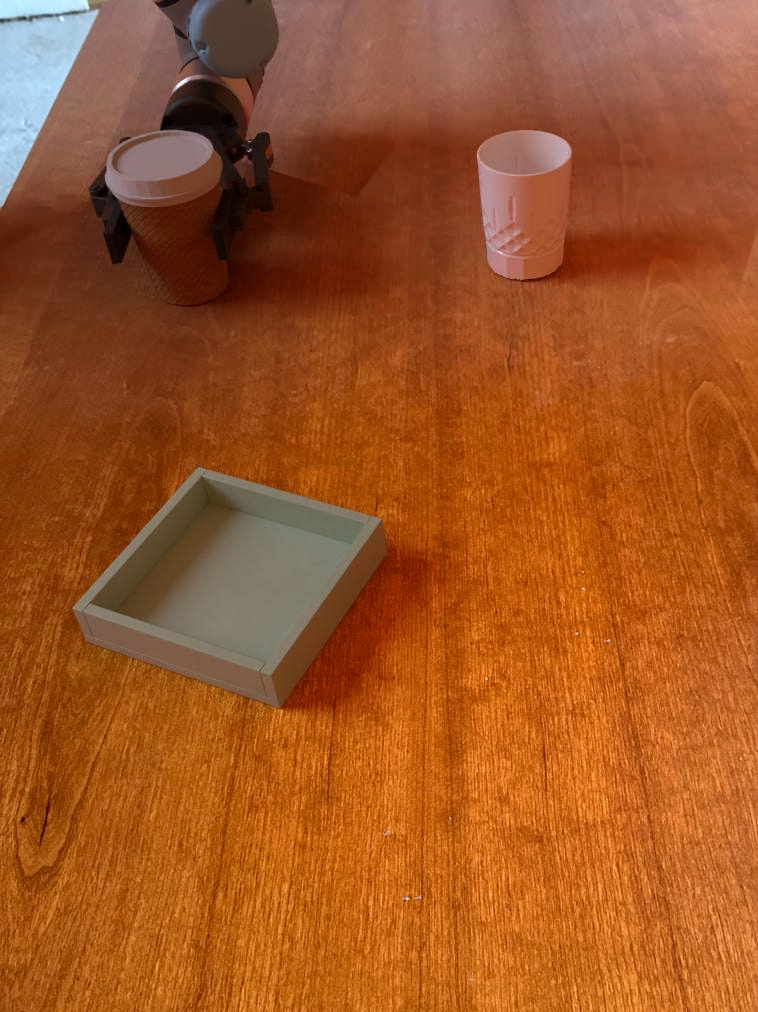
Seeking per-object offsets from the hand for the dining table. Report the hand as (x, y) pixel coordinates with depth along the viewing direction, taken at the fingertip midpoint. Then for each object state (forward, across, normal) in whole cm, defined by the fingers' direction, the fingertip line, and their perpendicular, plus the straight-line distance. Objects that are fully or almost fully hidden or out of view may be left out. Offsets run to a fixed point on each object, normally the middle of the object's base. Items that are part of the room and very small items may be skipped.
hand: (166, 246), depth 96 cm
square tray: (+33, -9, -7) cm, 35 cm away
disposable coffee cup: (-5, 0, -7) cm, 8 cm away
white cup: (-7, -30, -7) cm, 31 cm away
